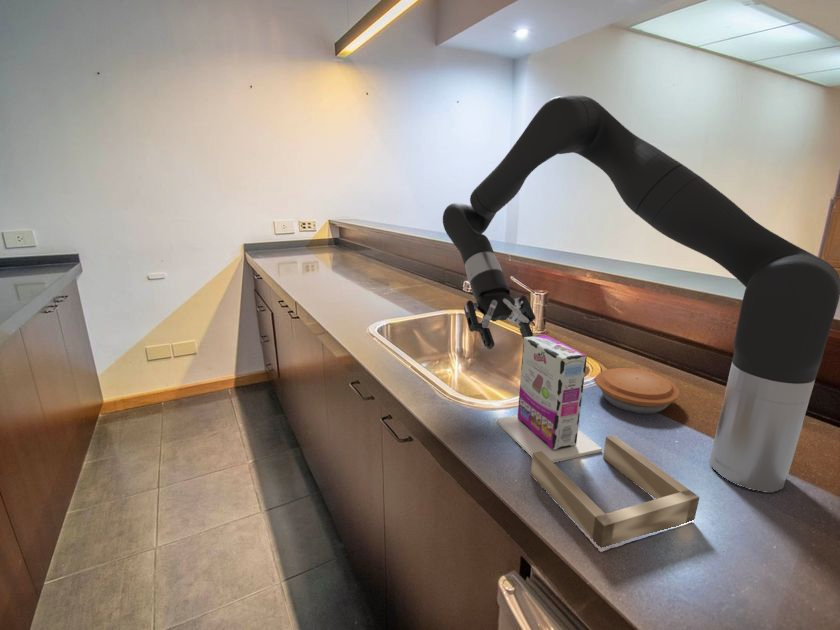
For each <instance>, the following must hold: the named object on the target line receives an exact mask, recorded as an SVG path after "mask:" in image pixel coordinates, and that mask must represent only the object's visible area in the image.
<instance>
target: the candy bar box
mask: <svg viewBox="0 0 840 630" xmlns="http://www.w3.org/2000/svg"><path fill="white" fill-rule="evenodd" d="M522 344H523V345H522V359H521V366H520V367H521V370H520V382H519V395H518V397H519V398H518V406H517V407H518V409H517V415H518V420H520V421H521V422H522V423H523V424H524V425H525V426H526V427H527V428H528V429H530V430H531V431H532V432H533V433H534V434H535V435H536V436H538V437H539V438H540V439H541V440H542V441H543V442H544V443H546V444H547V445H548V446H549V447H550V448H551V449H552V450H558V449H563V448H567V447H572V446H575V445H576V442H577V433H578V430H579V424H580V416H581V415H580V414H581V409H582V408H581V407H582V398H583V391H584V385H585V384H584V382H585V377H586V376H585V375H586V368H587V359H588V355H587V354H585V353H583V352H580V351H579V350H577V349H575V348H573V347H571V346H569V345H567V344H565V343H563V342H561V341H559V340H557V339H555V338H553V337H551V336H549V335H547V334H541V335H539V334H538V335H533V336H531V337H524V340H523V342H522Z"/></svg>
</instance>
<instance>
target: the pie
mask: <svg viewBox="0 0 840 630" xmlns="http://www.w3.org/2000/svg"><path fill="white" fill-rule="evenodd" d="M594 381H595V383H596V385H597V387H598V388H599V389H600V392H602V394H603V396H604V399H605V400H606V401H608V403H610V404H611V405H613V406H614V407H617V408H618V409H620V410H624V411H627V412H631V413H636V414H644V415H645V414H649V415H650V414H657V412H658V413H660V412H662V411H664V410H665V409H667V407H668V406H670V405H671V404H672V403H674V402H676V401H677V400H678V399H679V397H680V396H681V393H680V392H681V391H680V389H679V388H678V387H677V386H676V385H675V384H674V383H673V382H671V381H670V380H668V379H667V378H665V377H663V376H661V375H659V374H656V373H654V372H650V371H647V370H643V369H640V368H639V369H638V368H632V367H616V368H615V367H614V368H609V369H604V370H603V371H600V372H598V373H597V375H595V378H594Z"/></svg>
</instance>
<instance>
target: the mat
mask: <svg viewBox="0 0 840 630" xmlns="http://www.w3.org/2000/svg"><path fill="white" fill-rule="evenodd" d="M496 423H497V424H498V425H499V426H500V427H501V428H502V429H503V430H504V431H505V432H506V434H508V435H509V436H510V437H511V438H512V440H513V441H514V442H515V443H516V442H517V443H518V444H519V445H520V446H521V447H522V448H521V447H520V448H521V449H522V450H523V449H524V450H525V451H526V452H527V453H528V454H529V455H530V456H531V457H532V456H533V453H535V452H539V451H542V452H543V453H544V454H545V455H546V456H547V457H548V458H549V459H550V460H551V461H552V462H553V463H554V464H555V462H556V463H559V461H560V462H563V461H569V460H573V459H575V458H581V457H584V456H588V455H592V454H597V453H601V452H603V451H602V450H603V448H602V447H601V446H600V445H599V444H597V443H595V442H594V441H593V440H592V439H591V438H590V437H588V436H587V435H585V433H583V431H581V430H580V429H578V433H577V442H576V445H575V446H572V447H567V448H563V449H558V450H552V449H551V448H550V447H549V446H548V445H547V444H546V443H544V442H543V441H542V440H541V439H540V438H539V437H538V436H536V435H535V434H534V433H533V432H532V431H531V430H530V429H528V428H527V427H526V426H525V425H524V424H523V423H522V422H521V421H520V420H518V414H515V415H509V416H504V417H499V418H496ZM517 443H516V444H517ZM518 444H517V445H518ZM519 445H518V446H519ZM524 450H523V451H524ZM525 451H524V452H525ZM526 452H525V453H526ZM527 453H526V454H527ZM528 454H527V455H528ZM529 455H528V456H529ZM530 456H529V457H530ZM531 457H530V458H531Z"/></svg>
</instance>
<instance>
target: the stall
mask: <svg viewBox="0 0 840 630" xmlns="http://www.w3.org/2000/svg"><path fill="white" fill-rule="evenodd" d="M602 459H604V460H605V461H606V462H607V463H608V464H610V465H611V466H612V467H613V468H615V469H616V470H617V471H618V470H619V471H618V472H619V473H620V474H622V475H623V474H624V475H625V476H624V475H623V476H624V477H626V478H627V479H628V478H629V479H630V480H632V481H633V482H634V483H635V484H637V485H638V486H640V487H641V488H643V489H644V490H645V491H646V492H647V493H649V494H650V495H652V496H653V497H654V498H656V499H655V500H654V499H652V500H648V501H646V502H645V501H644V502H642V503H637V504H633V505H632V506H627V507H624V508H621V509H617V510H614V511H611V512H608V513H605V512H604V511H603V510H602V509H601V508H600V507H599V506H598V505H597V504H596V503H595V502H594V501H593V500H592V499H591V498H590V497H589V496H588V495H587V494H586V493H585V492H584V491H583V490H582V489H581V488H580V487H578V485H577V484H576V483H575V482H574V481H572V479H571V478H569V476H567V474H565V472H563V471H562V470H561V469H560V468H559V467H558V465H556V464H555V463H553V462H552V461H551V460H550V459H549V458H548V457H547V456H546V455H545V454H544V453H543V452H542V451H539V452H535V453H533V456H532V458H531V468H530V469H531V470H530V476H531V475H532V476H533V477H534V478H535V479H536V480H537V482H538V483H539V484H540V485H541V486H542V487H543V488H544V489H545V490H546V491H547V493H549V495H550V496H551V497H552V498H553V499H554V500H555V501H556V502H557V503H558V505H560V506H561V508H563V509H564V511H565V512H566V513H567V514H568V515H569V516H570V517H571V518H572V519H573V520H574V521H575V523H577V524H578V525H579V527H580V528H582V529H583V530H584V531H585V532H586V533H587V534H588V535H589V536H590V538H591V539H593V541H594V542H596V544H597V545H598V546H600V547H601V548H602V547H606V546H609V545H612V544H616V543H620V542H622V541H626V540H629V539H631V538H635V537H639V536H642V535H646V534H649V533H653V532H657V531H660V530H664V529H668V528H671V527H676V526H679V525H681V524H684V523H687V522H689V521H692V520H694V519H696V513H697V511H698V510H697V509H698V506H699V501H700V496H699V495H697V494H696V493H695V492H694V491H693V490H691V489H689V488H688V487H686V486H685V485H684V484H682V483H681V482H679V480H677V479H675V478H674V476H673V477H672V476H671V475H670V474H668V473H667V472H665V470H663V469H662V468H660V467H659V466H658V465H656V464H655V463H653V462H652V461H650V460H649V459H648V458H646V457H645V456H644V455H642V454H641V453H640V452H638V451H637V450H635V449H634V448H632V447H631V446H630V445H629V444H628V443H626V442H624V441H623V440H622V439H620V438H619V437H618V436H616V435H615V434H612V435H607V436H605V441H604V449H603V457H602ZM532 476H531V477H532ZM533 477H532V478H533ZM629 479H628V480H629ZM630 480H629V481H630ZM632 481H631V482H632ZM537 482H536V483H537ZM633 482H632V483H633ZM538 483H537V484H538ZM634 483H633V484H634ZM539 484H538V485H539ZM635 484H634V485H635ZM540 485H539V486H540ZM637 485H636V486H637ZM541 486H540V487H541ZM638 486H637V487H638ZM542 487H541V488H542ZM547 493H546V494H547ZM549 495H548V496H549ZM550 496H549V497H550ZM558 505H557V506H558ZM694 521H695V520H694Z"/></svg>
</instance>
